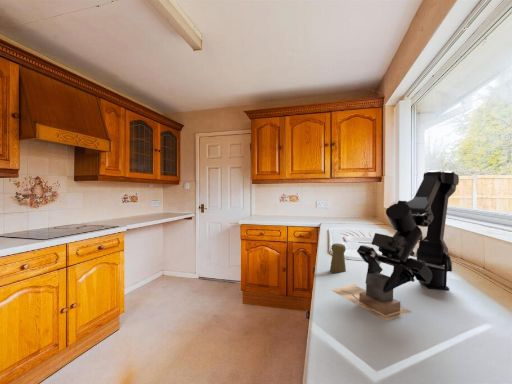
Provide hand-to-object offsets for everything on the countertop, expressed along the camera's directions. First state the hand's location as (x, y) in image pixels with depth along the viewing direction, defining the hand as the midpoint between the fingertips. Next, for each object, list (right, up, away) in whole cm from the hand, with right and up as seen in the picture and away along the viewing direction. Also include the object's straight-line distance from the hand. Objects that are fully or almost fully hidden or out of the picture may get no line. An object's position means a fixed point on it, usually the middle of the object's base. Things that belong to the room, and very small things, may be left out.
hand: (375, 287), depth 65 cm
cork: (0, -6, +31) cm, 31 cm away
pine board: (0, -7, +5) cm, 9 cm away
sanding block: (+1, -6, +1) cm, 6 cm away
